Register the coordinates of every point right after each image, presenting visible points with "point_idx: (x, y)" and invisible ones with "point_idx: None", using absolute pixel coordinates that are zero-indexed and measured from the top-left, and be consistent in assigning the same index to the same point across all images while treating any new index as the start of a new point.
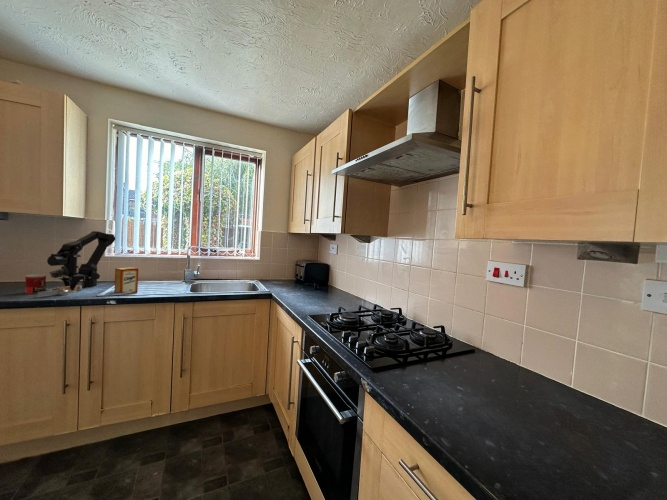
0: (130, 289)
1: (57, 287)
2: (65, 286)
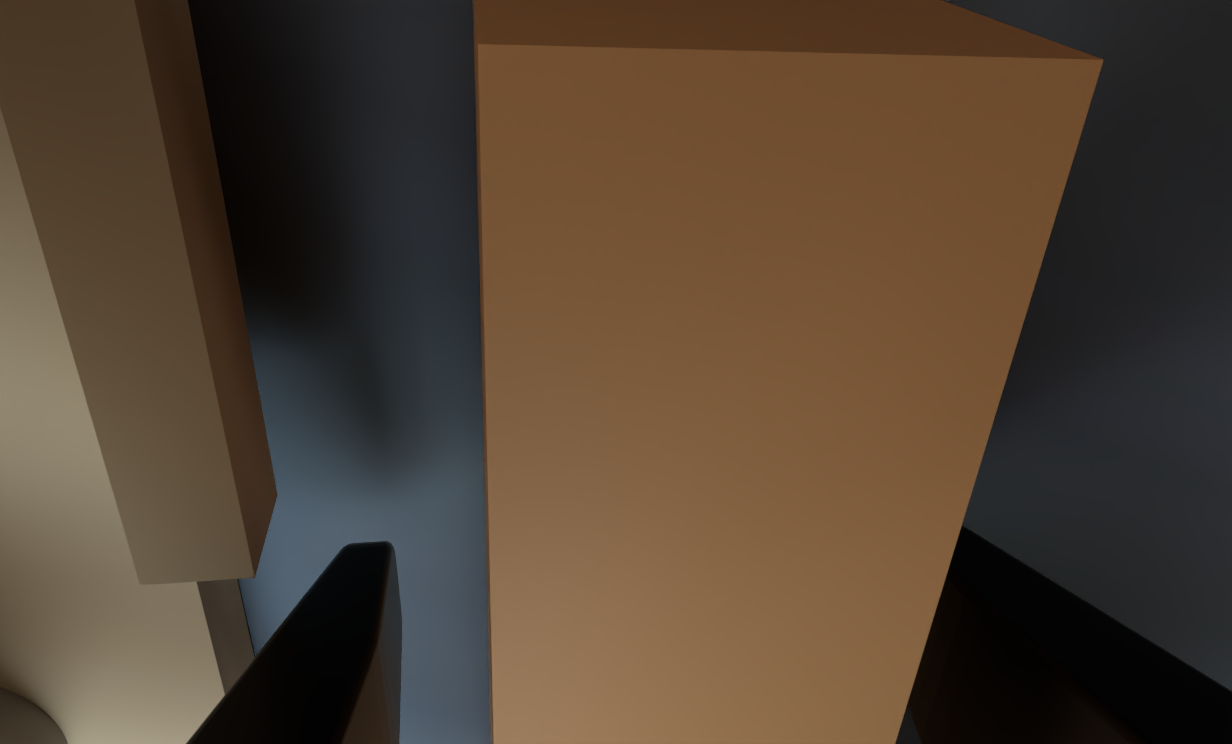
0: None
1: (1030, 60)
2: (914, 622)
